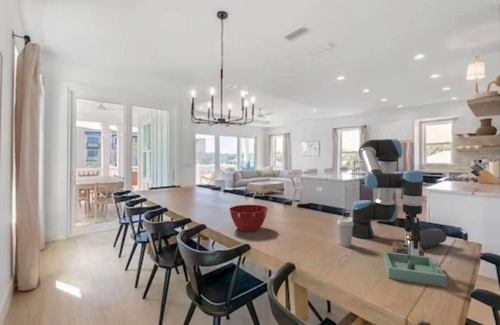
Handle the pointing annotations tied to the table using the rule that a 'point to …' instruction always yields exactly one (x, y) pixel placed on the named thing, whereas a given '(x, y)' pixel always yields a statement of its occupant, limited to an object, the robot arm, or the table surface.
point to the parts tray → (423, 271)
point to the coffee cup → (345, 231)
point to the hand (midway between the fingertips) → (411, 250)
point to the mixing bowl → (248, 216)
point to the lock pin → (410, 257)
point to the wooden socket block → (404, 248)
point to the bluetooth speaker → (431, 237)
